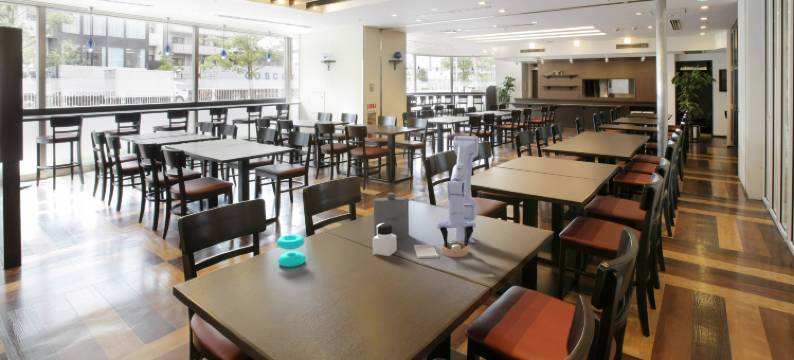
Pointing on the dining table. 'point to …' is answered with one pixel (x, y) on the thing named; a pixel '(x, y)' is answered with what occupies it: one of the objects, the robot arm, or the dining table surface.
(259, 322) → the dining table surface
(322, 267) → the dining table surface
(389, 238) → the medicine bottle
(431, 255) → the parts tray
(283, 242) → the donuts
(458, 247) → the sandstone pebble
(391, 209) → the flask
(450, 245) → the grey rounded short piece
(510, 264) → the dining table surface
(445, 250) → the terracotta bowl
